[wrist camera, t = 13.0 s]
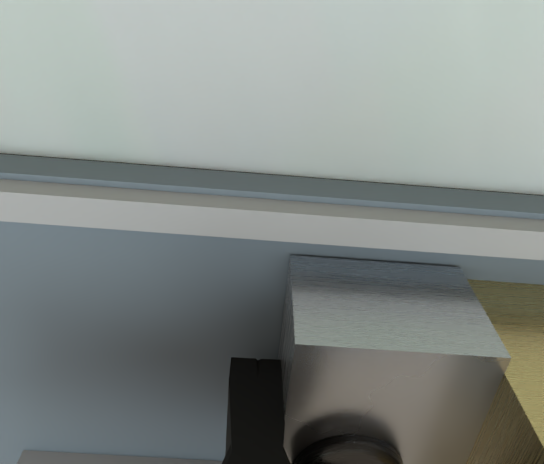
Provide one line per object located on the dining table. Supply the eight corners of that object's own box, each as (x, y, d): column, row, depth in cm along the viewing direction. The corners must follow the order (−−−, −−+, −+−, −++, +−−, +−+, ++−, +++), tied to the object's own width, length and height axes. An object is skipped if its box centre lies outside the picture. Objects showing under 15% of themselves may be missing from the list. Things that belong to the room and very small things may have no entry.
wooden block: (519, 450, 15) (616, 650, 11) (401, 443, 15) (452, 643, 11) (599, 288, 12) (774, 475, 8) (453, 278, 12) (552, 463, 8)
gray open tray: (662, 475, 18) (757, 607, 14) (9, 438, 17) (-61, 569, 13) (848, 219, 13) (1066, 326, 9) (-66, 148, 12) (-207, 236, 8)
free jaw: (398, 459, 16) (430, 591, 12) (266, 452, 15) (264, 583, 12) (459, 267, 12) (525, 382, 9) (290, 254, 12) (296, 368, 9)
